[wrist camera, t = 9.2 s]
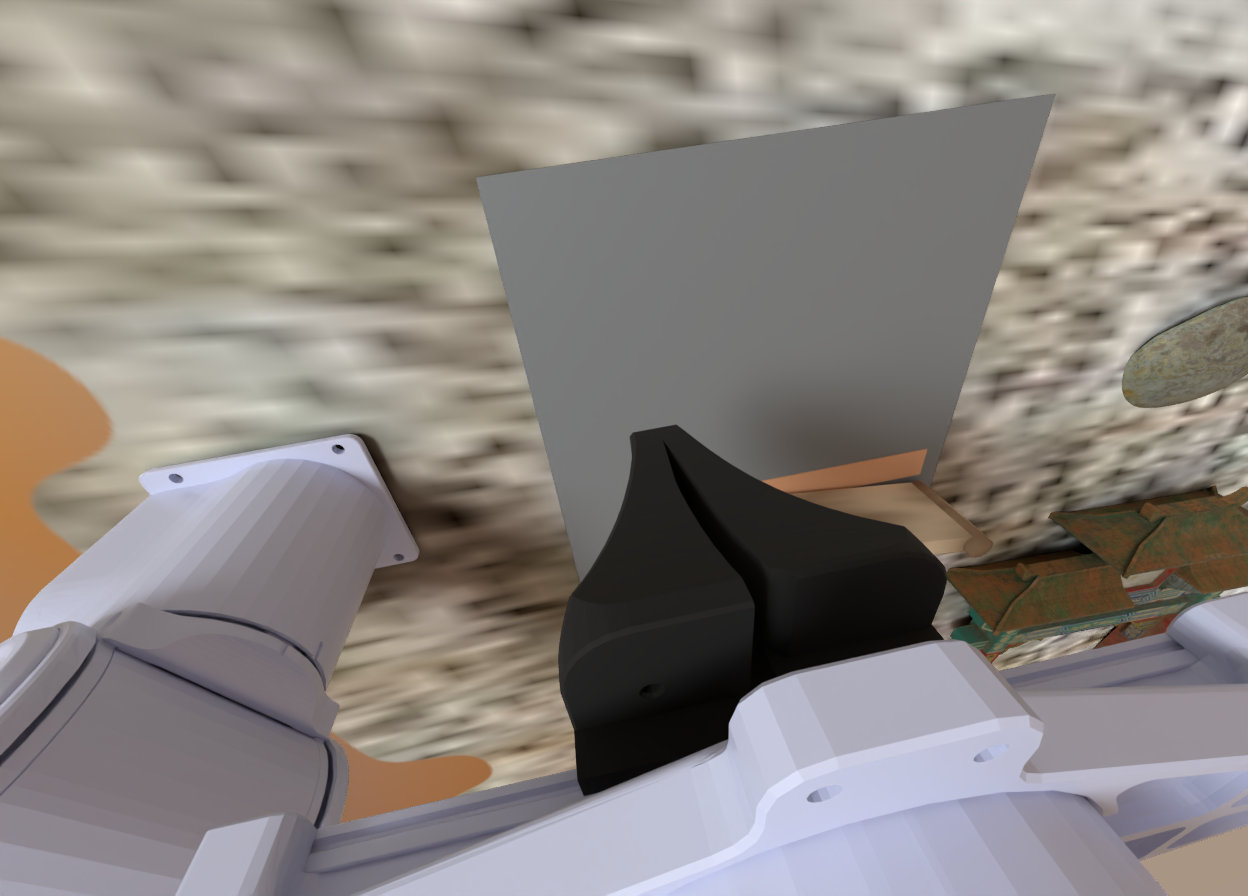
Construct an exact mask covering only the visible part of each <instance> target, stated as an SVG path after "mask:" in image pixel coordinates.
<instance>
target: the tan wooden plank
mask: <svg viewBox="0 0 1248 896" xmlns="http://www.w3.org/2000/svg"><path fill="white" fill-rule="evenodd" d="M791 495H794V496H796V497H799V498H802V499H804V500H807V501H809V502H812V503H815V504H818V505H821V506H824V507H827V508H831V509H834V510H838V511H841V512H845V513H848V514H852V515H855V516H859V517H864V518H869V519H873V520H878V521H883V522H887V523H892V524H897V525H901V526H905V527H906V528H907V529H908V530H909V531H910V532H912V533H913V534H914V535H915V536H916V537H917V538H918V539H919V540H920V541H921V542H922V543H923V544H924V545H925V546H926V547H927V548H928V549H929V550H930V551H931V552H932V553H933V554H934V555H935V554H944V553H952V552H961V551H965V552H966V553H967V554H968V555H970V556H971V557H979V556H982V555H984V554H985V553H987V552H988V551H989V550H990V549H991V547H992V545H993V543H992V541H991V540H989V539H988V538H987V537H986V535H985V534H984V533H983V532H981V531H980V530H979V529H978V528H977V527H975V526H974V525H973V524H972V523H971V522H970V521H968V520H967V519H966V518H965V517H964V516H962V515H961V514H960V513H959V512H958V511H957V510H955V509H954V508H953V507H952V506H951V505H950V504H948V503H947V502H946V501H945V500H944V499H942V498H941V497H940V496H939V495H938V494H937V493H935V492H934V491H933V490H932V489H931V488H930V487H928V486H927V485H926V484H925V483H924V482H922V481H913V482H910V483H900V484H889V485H879V486H868V487H857V488H847V489H836V490H826V491H815V492H805V493H794V494H791Z"/></svg>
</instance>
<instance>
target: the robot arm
mask: <svg viewBox="0 0 1248 896" xmlns="http://www.w3.org/2000/svg"><path fill="white" fill-rule="evenodd" d="M335 445H341V446H343V448H344V449H345V450H341V449H338V448H337V447H336V446H335ZM630 445H631V452H632V461H631V468H630V475H629V480H628V484H627V488H626V492H625V496H624V500H623V503H622V506H621V509H620V512H619V514H618V517H617V520H616V522H615V524H614V526H613V529H612V531H611V533H610V535H609V537H608V539H607V541H606V543H605V545H604V547H603V549H602V550H601V552H600V554H599V555H598V557H597V559H596V561H595V562H594V564H593V566H592V567H591V569H590V570H589V572H588V573H587V575H586V576H585V577H584V579H583V580H582V581H581V583H580V584H579V585H578V587H577V588H576V589H575V591H574V592H573V593H572V595H571V596H570V597H569V601H568V605H567V609H566V613H565V617H564V621H563V626H562V631H561V637H560V644H559V656H558V665H559V682H560V691H561V695H562V698H563V701H564V703H565V706H566V709H567V711H568V714H569V717H570V720H571V722H572V725H573V728H574V734H575V750H576V766H577V769H574V770H570V771H565V772H561V773H557V774H552V775H548V776H544V777H539V778H535V779H531V780H526V781H522V782H518V783H514V784H509V785H505V786H501V787H496V788H492V789H488V790H483V791H479V792H475V793H470V794H466V795H462V796H457V797H453V798H449V799H445V800H440V801H436V802H432V803H427V804H423V805H418V806H414V807H410V808H406V809H401V810H397V811H393V812H388V813H384V814H380V815H375V816H371V817H367V818H362V819H358V820H354V821H349V822H345V823H341V824H340V822H341V818H342V815H343V810H344V805H345V801H346V796H347V790H348V783H349V765H348V760H347V755H346V753H345V751H344V749H343V747H342V746H341V745H340V744H339V743H337V741H335V740H333V739H331V738H329V734H330V732H331V729H332V726H333V723H334V721H335V718H336V715H337V712H338V710H339V707H340V705H339V704H337V703H336V702H334V701H333V700H331V699H330V698H329V697H328V696H327V695H326V693H325V692H326V689H327V687H328V684H329V682H330V679H331V677H332V674H333V672H334V669H335V667H336V664H337V662H338V659H339V657H340V654H341V652H342V649H343V647H344V644H345V642H346V639H347V637H348V634H349V632H350V629H351V627H352V624H353V622H354V619H355V617H356V614H357V612H358V609H359V607H360V604H361V602H362V599H363V597H364V594H365V592H366V589H367V587H368V584H369V582H370V579H371V577H372V574H373V572H374V569H376V568H381V567H386V566H391V565H396V564H401V563H406V562H411V561H414V560H416V559H417V558H418V555H419V552H420V551H419V548H418V546H417V544H416V542H415V540H414V539H413V537H412V535H411V533H410V531H409V529H408V527H407V525H406V523H405V521H404V519H403V517H402V515H401V513H400V511H399V510H398V508H397V506H396V504H395V502H394V500H393V498H392V496H391V494H390V492H389V490H388V488H387V486H386V484H385V482H384V480H383V479H382V477H381V475H380V473H379V471H378V469H377V467H376V465H375V463H374V461H373V459H372V457H371V455H370V453H369V451H368V450H367V448H366V446H365V444H364V442H363V440H362V439H361V438H360V437H358V436H357V435H353V434H346V435H340V436H334V437H329V438H323V439H317V440H312V441H306V442H300V443H295V444H289V445H284V446H278V447H272V448H267V449H261V450H255V451H250V452H244V453H239V454H233V455H227V456H222V457H216V458H210V459H205V460H199V461H194V462H188V463H182V464H177V465H171V466H165V467H160V468H154V469H149V470H147V471H145V472H144V473H143V474H141V476H140V477H139V482H140V483H141V485H142V486H143V487H144V488H145V489H146V490H147V491H148V493H149V494H150V496H149V497H148V498H147V499H146V500H144V501H143V502H142V503H141V504H140V505H139V506H138V507H136V508H135V509H134V510H133V511H132V512H131V513H129V514H128V515H127V516H126V517H125V518H124V519H123V520H121V521H120V522H119V523H118V524H117V525H116V526H115V527H113V528H112V529H111V530H110V531H109V532H108V533H106V534H105V535H104V536H103V537H102V538H101V539H100V540H98V541H97V542H96V543H95V544H94V545H93V546H92V547H90V548H89V549H88V550H87V551H86V552H85V553H83V554H82V555H81V556H80V557H79V558H78V559H77V560H75V561H74V562H73V563H72V564H71V565H70V566H69V567H67V568H66V569H65V570H64V571H63V572H62V573H60V574H59V575H58V576H57V577H56V578H55V579H54V580H52V581H51V582H50V583H49V584H48V585H47V586H46V587H45V588H43V589H42V590H41V591H40V593H38V595H37V596H36V597H35V598H34V599H33V600H32V601H31V602H30V604H29V605H28V606H27V608H26V609H25V611H24V612H23V614H22V616H21V618H20V620H19V622H18V624H17V626H16V628H15V631H14V634H13V636H12V637H11V638H9V639H8V640H6V641H4V642H2V643H1V644H0V896H1169V895H1168V894H1167V893H1166V891H1165V890H1164V889H1163V888H1162V887H1161V886H1160V884H1159V883H1158V882H1157V881H1156V880H1155V879H1154V877H1153V876H1152V875H1151V874H1150V873H1149V872H1148V870H1147V869H1146V868H1145V867H1144V866H1143V864H1142V863H1141V862H1140V861H1142V860H1145V859H1148V858H1151V857H1154V856H1157V855H1160V854H1162V853H1166V852H1169V851H1172V850H1175V849H1178V848H1181V847H1184V846H1187V845H1190V844H1193V843H1196V842H1199V841H1202V840H1205V839H1208V838H1211V837H1214V836H1218V835H1221V834H1224V833H1227V832H1230V831H1233V830H1236V829H1239V828H1242V827H1245V826H1248V592H1243V593H1238V594H1234V595H1229V596H1225V597H1221V598H1216V599H1212V600H1207V601H1203V602H1200V603H1197V604H1194V605H1191V606H1190V607H1188V608H1186V609H1185V610H1183V611H1182V612H1180V613H1179V614H1178V615H1177V616H1176V617H1175V618H1174V619H1173V620H1172V621H1171V623H1170V624H1169V626H1168V627H1167V630H1166V633H1162V634H1157V635H1153V636H1149V637H1144V638H1140V639H1136V640H1131V641H1127V642H1123V643H1118V644H1114V645H1110V646H1105V647H1101V648H1097V649H1093V650H1088V651H1084V652H1080V653H1075V654H1071V655H1067V656H1062V657H1058V658H1054V659H1049V660H1045V661H1041V662H1036V663H1032V664H1028V665H1023V666H1019V667H1015V668H1010V669H1006V670H1002V671H997V670H996V668H995V667H994V666H993V665H992V664H991V663H990V662H989V661H988V659H987V658H986V657H985V656H984V655H983V654H982V653H981V652H980V650H978V649H976V648H975V647H973V646H971V645H970V644H968V643H966V642H965V641H960V640H955V639H954V640H944V639H943V637H942V636H941V635H940V634H939V633H938V632H937V630H936V629H935V628H934V627H933V626H932V621H933V619H934V616H935V614H936V612H937V609H938V607H939V604H940V602H941V599H942V597H943V594H944V590H945V586H946V581H947V575H946V570H945V567H944V566H943V564H942V563H941V562H940V561H939V560H938V559H937V557H936V556H935V555H934V554H933V553H932V552H931V551H930V550H929V549H928V548H927V547H926V546H925V545H924V544H923V543H922V542H921V541H920V540H919V539H918V538H917V537H916V536H915V535H914V534H913V533H912V532H910V531H909V530H908V529H907V528H906V527H905V526H901V525H897V524H892V523H887V522H883V521H878V520H873V519H869V518H864V517H859V516H855V515H852V514H848V513H845V512H841V511H838V510H834V509H831V508H827V507H824V506H821V505H818V504H815V503H812V502H809V501H807V500H804V499H802V498H799V497H796V496H794V495H791V494H788V493H786V492H784V491H781V490H779V489H777V488H775V487H773V486H771V485H768V484H766V483H764V482H762V481H760V480H758V479H756V478H754V477H752V476H750V475H749V474H747V473H745V472H743V471H742V470H740V469H738V468H737V467H735V466H733V465H732V464H730V463H728V462H727V461H725V460H724V459H722V458H721V457H719V456H718V455H717V454H715V453H714V452H712V451H711V450H709V449H708V448H707V447H705V446H704V445H703V444H701V443H700V442H699V441H697V440H696V439H695V438H693V437H692V436H691V435H690V434H688V433H687V432H686V431H685V430H683V429H682V428H681V427H679V426H678V425H677V424H676V425H671V426H665V427H660V428H655V429H649V430H644V431H638V432H633V433H632V434H631V436H630ZM176 474H178V475H180V476H181V477H182V478H181V477H178V476H177V475H176ZM397 554H401V555H403V556H399V555H397Z"/></svg>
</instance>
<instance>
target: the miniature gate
mask: <svg viewBox="0 0 1248 896" xmlns="http://www.w3.org/2000/svg"><path fill="white" fill-rule="evenodd" d="M1247 501H1248V487H1242V488H1241V489H1239V490H1237V491H1236V492H1234V493H1232V494H1230V495H1227V496H1224V497H1223V496H1222V495H1220V494H1218V492H1217V488H1216V486H1212V487H1211V488H1210V489H1209V490H1204V491H1198V492H1192V493H1186V494H1180V495H1174V496H1167V497H1161V498H1155V499H1149V500H1143V501H1137V502H1131V503H1125V504H1119V505H1112V506H1106V507H1100V508H1094V509H1088V510H1082V511H1076V512H1070V513H1067V512H1051V514H1050V516H1049V517H1048V518H1050V519H1053V520H1054V521H1055V522H1056V523H1058V524H1059V525H1060V526H1061V527H1063V528H1064V529H1065V530H1066V531H1068V532H1069V533H1070V534H1071V535H1073V536H1074V537H1075V538H1077V539H1078V540H1079V541H1080V542H1082V543H1083V544H1084V545H1085V546H1087V547H1088V548H1089V549H1090V550H1092V551H1093V552H1094V553H1093V554H1087V555H1083V554H1080V553H1078V552H1075V551H1072V550H1067V551H1061V552H1055V553H1050V554H1044V555H1038V556H1032V557H1026V558H1021V559H1015V560H1009V561H1003V562H997V563H992V564H986V565H980V566H974V567H968V568H955V567H954V568H950V569H949V570H948V572H946V575H947V579H948V581H949V582H950V583H951V584H952V585H953V586H954V587H955V589H956V590H957V591H958V592H959V593H960V594H961V595H962V597H963V598H964V599H965V600H966V601H967V602H968V603H969V605H970V608H969V609H968V611H967V612H968V613H969V614H970V616H971V617H972V618H973V619H972V621H971V622H970V623H969V625H967V626H962V627H956V628H955V629H954V631H953V632H952V634H951V635H950V636H951V637H952V639H953V640H954V639H955V640H960V641H965V642H966V643H968V644H970V645H971V646H973V647H975V648H976V649H978V650H980V652H981V653H982V654H983V655H984V656H985V657H986V658H987V659H988V661H989V662H990V663H992V662H993V661H994V660H995V659H996V658H997V657H998V655H1001V654H1003V653H1004V652H1006V651H1007V650H1008V649H1009V648H1014V647H1017V646H1020V645H1022V644H1024V643H1026V642H1028V641H1031V640H1039V641H1041V640H1043V639H1044V638H1047V637H1052V636H1057V635H1062V634H1068V633H1073V632H1078V631H1083V630H1088V629H1094V628H1099V627H1104V626H1109V625H1114V626H1118V625H1119V626H1118V627H1117V628H1116V629H1115V630H1113V631H1112V632H1111V633H1110V634H1109V635H1108V636H1107V637H1106V638H1105V639H1104V640H1103V641H1102V642H1100V643H1099V644H1098V645H1097V646H1096V647H1095V648H1094V649H1097V648H1101V647H1105V646H1110V645H1114V644H1118V643H1123V642H1127V641H1131V640H1136V639H1140V638H1144V637H1149V636H1153V635H1157V634H1162V633H1166V630H1167V627H1168V626H1169V624H1170V623H1171V621H1172V620H1173V619H1174V618H1175V617H1176V616H1177V615H1178V614H1179V613H1180V612H1182V611H1183V610H1185V609H1186V608H1188V607H1190V606H1191V605H1194V604H1197V603H1200V602H1203V601H1207V600H1212V599H1216V598H1220V596H1219V595H1220V594H1221V593H1222V592H1223V591H1225V590H1230V589H1235V588H1241V587H1246V586H1248V510H1246V509H1245V508H1243V507H1241V505H1243V504H1244V503H1246V502H1247Z"/></svg>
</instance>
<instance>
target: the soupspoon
mask: <svg viewBox="0 0 1248 896" xmlns="http://www.w3.org/2000/svg"><path fill="white" fill-rule="evenodd" d="M1247 374H1248V296H1246V297H1242V298H1239V299H1235V300H1233V301H1229V302H1227V303H1225V304H1223V305H1221V306H1217V307H1215V308H1213V309H1210V310H1208V311H1206V312H1204V313H1202V314H1201V315H1198V316H1196V317H1194V318H1192V319H1190V320H1188V321H1186V322H1184V323H1182V324H1180V325H1178V326H1176V327H1173V328H1171V329H1170V330H1167V331H1165V332H1163V333H1161V334H1160V335H1157V336H1156V337H1154V338H1153V339H1152V340H1150V341H1149V342H1147V343H1146V344H1145V345H1144V346H1143V347H1141V348H1140V349H1139V350H1138V351H1136V353H1134V354H1133V355H1132V356H1131V357H1130V359H1129V361H1128V363H1127V365H1126V367H1125V370H1124V374H1123V379H1122V391H1123V394H1124V397H1125V398H1126V400H1127V401H1128V402H1129V403H1131V404H1132V405H1134V406H1137V407H1141V408H1156V407H1163V406H1170V405H1175V404H1180V403H1184V402H1188V401H1191V400H1194V399H1197V398H1200V397H1203V396H1206V395H1208V394H1211V393H1213V392H1216V391H1218V390H1220V389H1222V388H1224V387H1226V386H1228V385H1230V384H1232V383H1234V382H1236V381H1237V380H1239V379H1241V378H1242V377H1244V376H1245V375H1247Z"/></svg>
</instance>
